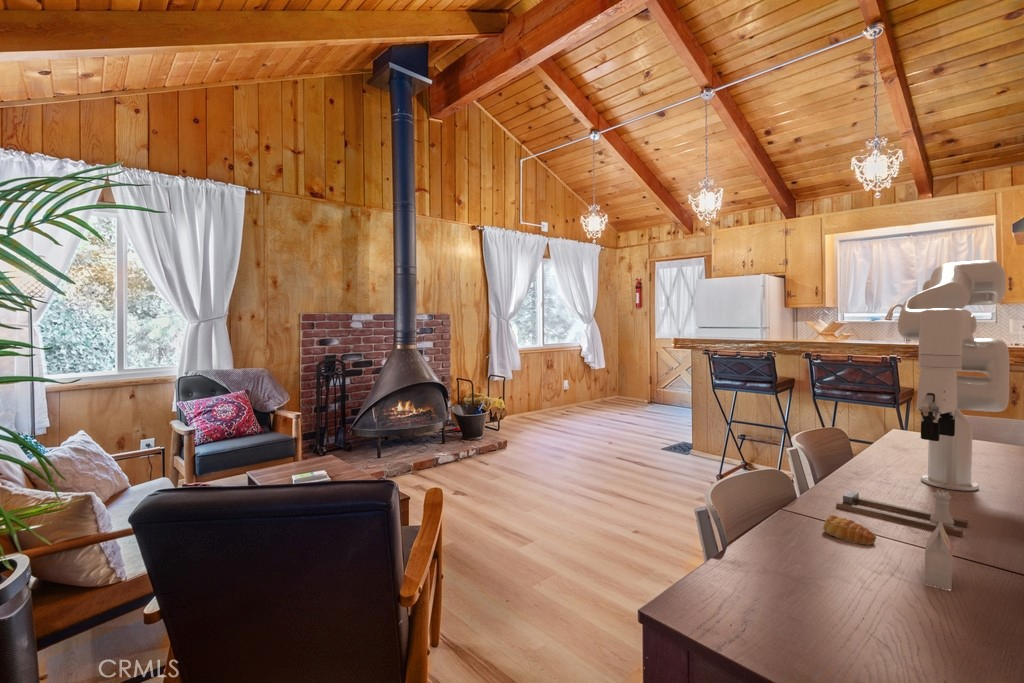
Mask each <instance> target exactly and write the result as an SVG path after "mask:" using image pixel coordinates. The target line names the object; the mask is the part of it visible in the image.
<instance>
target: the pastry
mask: <svg viewBox="0 0 1024 683" xmlns="http://www.w3.org/2000/svg"><path fill="white" fill-rule="evenodd" d="M822 529H823V531H824V532H825V533H826V534H827V535H828V534H829V535H828V536H830V535H831V536H830V537H832V536H833V537H835V538H836V539H838V538H840V539H839V540H841V539H843V540H842V541H846V540H847V541H846V542H848V541H851V542H850V543H853V542H855V543H854V544H857V543H859V544H858V545H867V546H869V545H870V546H871V545H872V544H874V543H875V542H876V541H877V540H876V539H877V535H875V534H874V533H873V532H872V531H871V530H869V528H867V527H864V526H863V525H862V524H858V523H856V522H855V520H854V519H853V520H852V519H848V518H847V517H839V516H837V515H834V514H831V515H829V516H828V517H827V518H826V519H825V522H824V524H823V528H822Z"/></svg>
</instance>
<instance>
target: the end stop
mask: <svg viewBox="0 0 1024 683" xmlns="http://www.w3.org/2000/svg"><path fill="white" fill-rule="evenodd" d="M859 493H860V492H858V491H854V490H849V491H847V492H846V493H844V494H843V495H842V503H846V504H851V505H855V506H859V498H860V494H859Z"/></svg>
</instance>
